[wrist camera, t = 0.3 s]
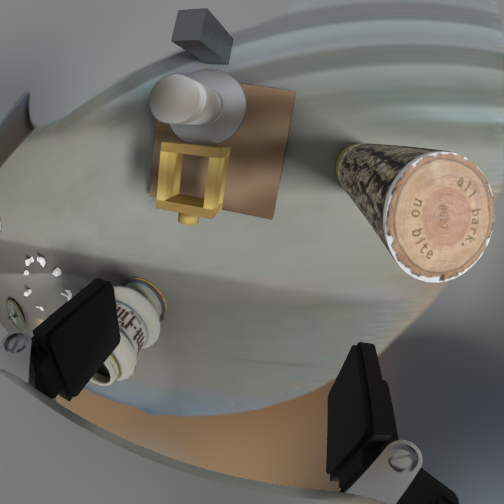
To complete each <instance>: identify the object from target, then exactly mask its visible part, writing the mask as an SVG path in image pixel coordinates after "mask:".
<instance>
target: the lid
mask: <svg viewBox="0 0 504 504" xmlns="http://www.w3.org/2000/svg"><path fill="white" fill-rule="evenodd" d="M6 307H7V312H8V315H9V317H8V319H9V318H10V319H9V320H11V321H12V323H13V325H14V326H15V327H16V328H17V329H19V330H21V331H23V330H24V329H25V321H24V317H23V315H22V312H21V310H20V308H19V306H18V305H17V303H16V302H15V301H14V300H12V299H8V300H7V303H6Z"/></svg>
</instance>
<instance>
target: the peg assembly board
mask: <svg viewBox="0 0 504 504" xmlns="http://www.w3.org/2000/svg"><path fill="white" fill-rule="evenodd" d="M295 94H296V93H295V91H290V90H283V89H277V88H270V87H263V86H254V85H245V84H239V83H238V82H237V81H236V80H235V79H234V78H232V77H231V76H230V75H228V74H227V73H225V72H222V71H219V70H215V69H203V70H198V71H195V72H193V73H190V74H189V75H187V76H184V75H180V74H172V75H168V76H166V77H164V78H162V79H161V80H160V81H158V82H157V83H156V85H155V86H154V88H153V89H152V91H151V94H150V99H149V105H150V109H151V112H152V114H153V115H154V116H155V118H157V122H156V129H155V138H154V147H153V157H152V169H151V181H150V197H156V198H157V201H156V208H158V209H163V210H169V211H174V212H179V216H178V221H179V222H180V223H182V224H187V225H194V224H197V223H198V222H199V217H204V218H209V219H212V218H213V217H214V216H215V215H216V214H217V213H219V212H220V211H221V210H227V211H232V212H237V213H242V214H247V215H252V216H256V217H261V218H266V219H271V220H272V218H273V215H274V210H275V205H276V199H277V194H278V189H279V183H280V178H281V172H282V167H283V161H284V156H285V150H286V145H287V139H288V134H289V128H290V122H291V117H292V111H293V105H294V100H295Z"/></svg>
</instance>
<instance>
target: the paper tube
mask: <svg viewBox="0 0 504 504" xmlns="http://www.w3.org/2000/svg"><path fill="white" fill-rule="evenodd" d="M336 175H337V178H338V181H339V182H340V184H341V185H342V187H343V188H344V189H345V191H346V192H347V193H348V195H349V196H350V197H351V199H352V200H353V201H354V203H355V204H356V205H357V207H358V208H359V209H360V211H361V212H362V213H363V215H364V216H365V218H366V219H367V220H368V222H369V223H370V225H371V226H372V227H373V229H374V230H375V232H376V233H377V235H378V236H379V237H380V239H381V240H382V242H383V243H384V245H385V246H386V248H387V249H388V251H389V252H390V254H391V255H392V257H393V258H394V260H395V261H396V262H397V263H398V265H399V266H400V267H401V268H402V269H403V270H404V271H405V272H406V273H408V274H409V275H411V276H412V277H414V278H416V279H419V280H421V281H425V282H444V281H448V280H451V279H454V278H456V277H458V276H460V275H461V274H463V273H465V272H466V271H467V270H469V269H470V268H471V267H472V266H473V265H474V264H475V263H476V261H478V259H479V258H480V257H481V255H482V254H483V252H484V250H485V249H486V247H487V245H488V242H489V240H490V237H491V234H492V230H493V224H494V216H495V209H494V200H493V195H492V191H491V188H490V185H489V183H488V181H487V179H486V177H485V176H484V174H483V173H482V171H481V170H480V169H479V168H478V167H477V166H476V165H475V164H474V163H473V162H472V161H470V160H469V159H467V158H466V157H464V156H461V155H459V154H456V153H452V152H448V151H442V150H434V149H426V148H417V147H407V146H395V145H382V144H361V143H359V144H353V145H350V146H348V147H346V148H345V149H344V150H343V151H342V152H341V153H340V155H339V156H338V158H337V161H336Z"/></svg>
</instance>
